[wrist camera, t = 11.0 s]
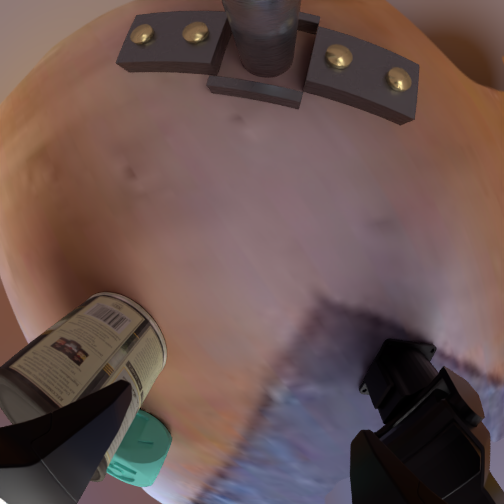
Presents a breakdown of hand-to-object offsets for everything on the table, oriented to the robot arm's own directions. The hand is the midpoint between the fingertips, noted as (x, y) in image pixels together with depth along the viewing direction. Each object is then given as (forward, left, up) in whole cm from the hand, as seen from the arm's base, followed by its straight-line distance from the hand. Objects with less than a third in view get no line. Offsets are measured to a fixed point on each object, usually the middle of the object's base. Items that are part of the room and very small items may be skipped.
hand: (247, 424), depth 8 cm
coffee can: (+12, +9, -13) cm, 20 cm away
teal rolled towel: (+10, +23, -13) cm, 28 cm away
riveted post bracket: (+4, -18, -13) cm, 23 cm away
